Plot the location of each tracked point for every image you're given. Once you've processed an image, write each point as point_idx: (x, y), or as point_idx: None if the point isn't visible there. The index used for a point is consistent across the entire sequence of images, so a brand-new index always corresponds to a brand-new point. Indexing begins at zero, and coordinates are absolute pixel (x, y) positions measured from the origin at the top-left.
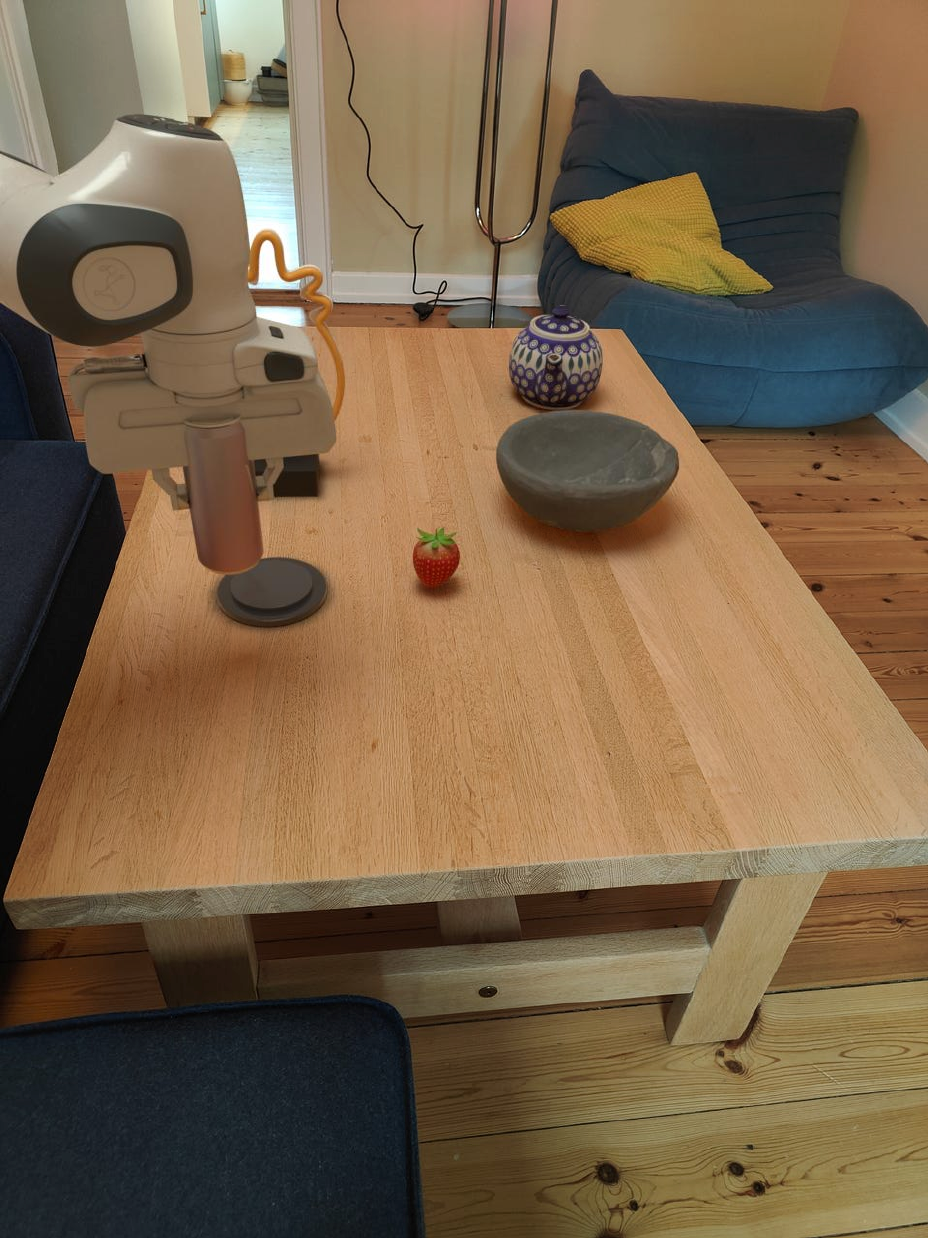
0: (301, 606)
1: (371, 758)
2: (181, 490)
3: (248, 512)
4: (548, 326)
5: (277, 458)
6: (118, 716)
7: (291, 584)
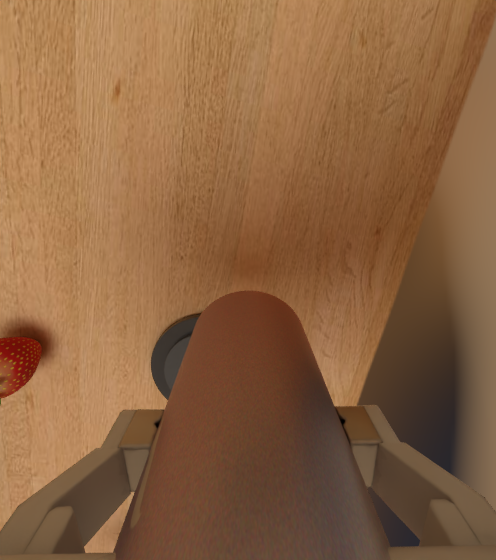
0: (180, 334)
1: (121, 68)
2: (364, 457)
3: (191, 368)
4: None
5: (8, 550)
6: (383, 209)
7: None
